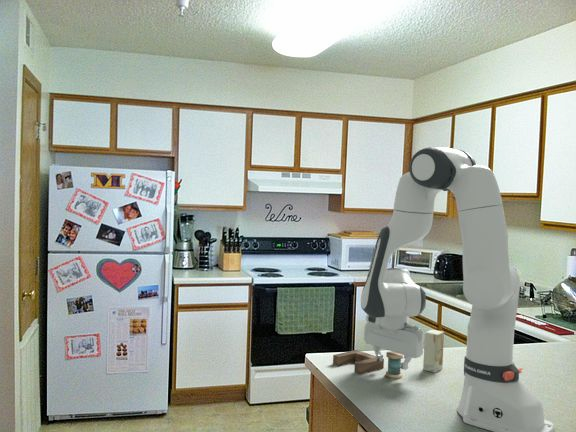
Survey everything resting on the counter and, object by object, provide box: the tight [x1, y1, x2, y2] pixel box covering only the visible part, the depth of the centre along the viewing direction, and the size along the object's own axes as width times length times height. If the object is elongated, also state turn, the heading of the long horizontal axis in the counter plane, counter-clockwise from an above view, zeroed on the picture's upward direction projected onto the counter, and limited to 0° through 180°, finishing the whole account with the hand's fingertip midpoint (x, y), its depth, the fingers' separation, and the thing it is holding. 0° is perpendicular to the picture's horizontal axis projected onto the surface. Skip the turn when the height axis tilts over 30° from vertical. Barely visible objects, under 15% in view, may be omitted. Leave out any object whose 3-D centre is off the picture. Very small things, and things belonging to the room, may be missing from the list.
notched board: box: [332, 349, 385, 375], centre depth 171 cm, size 12×11×3 cm
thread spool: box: [385, 350, 404, 380], centre depth 162 cm, size 5×5×7 cm
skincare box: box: [422, 329, 445, 373], centre depth 170 cm, size 6×4×12 cm
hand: (391, 364), depth 162 cm, fingers open, 8 cm apart
